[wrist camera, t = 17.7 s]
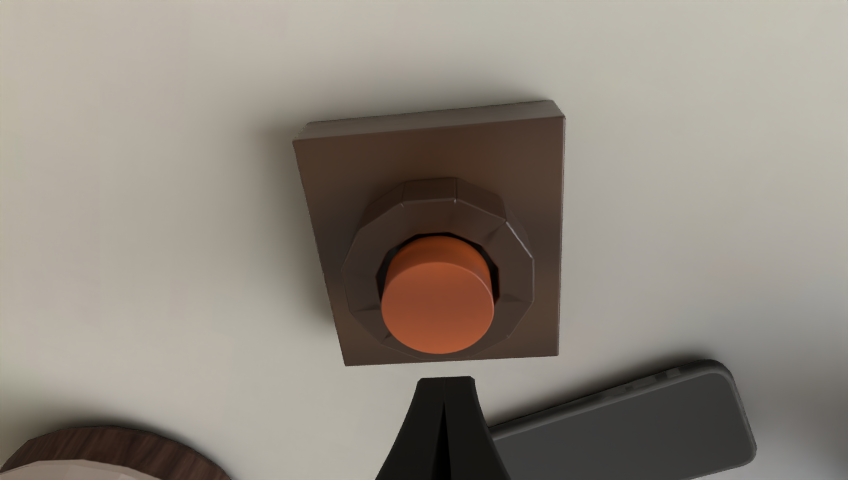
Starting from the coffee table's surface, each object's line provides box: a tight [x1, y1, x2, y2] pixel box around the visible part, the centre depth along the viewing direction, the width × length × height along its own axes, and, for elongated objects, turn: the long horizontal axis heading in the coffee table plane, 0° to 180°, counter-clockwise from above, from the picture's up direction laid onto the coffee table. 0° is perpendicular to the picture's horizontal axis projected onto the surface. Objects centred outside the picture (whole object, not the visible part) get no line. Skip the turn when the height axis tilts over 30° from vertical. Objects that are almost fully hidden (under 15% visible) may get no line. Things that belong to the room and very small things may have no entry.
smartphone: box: [488, 359, 757, 480], centre depth 26 cm, size 7×1×15 cm
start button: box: [381, 236, 494, 354], centre depth 17 cm, size 4×4×2 cm
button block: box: [293, 100, 566, 366], centre depth 19 cm, size 10×9×4 cm
